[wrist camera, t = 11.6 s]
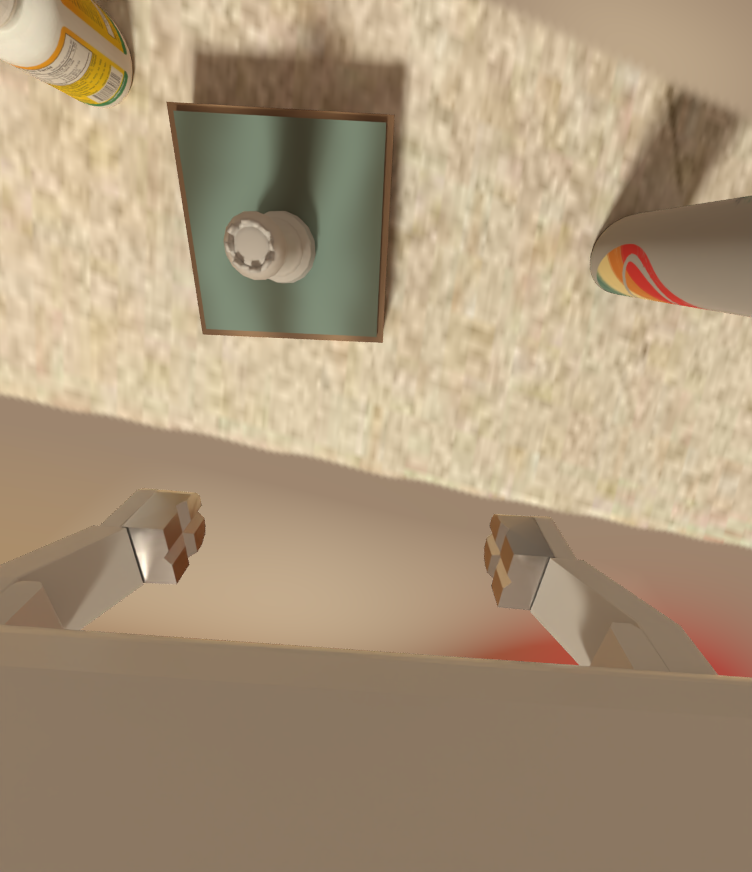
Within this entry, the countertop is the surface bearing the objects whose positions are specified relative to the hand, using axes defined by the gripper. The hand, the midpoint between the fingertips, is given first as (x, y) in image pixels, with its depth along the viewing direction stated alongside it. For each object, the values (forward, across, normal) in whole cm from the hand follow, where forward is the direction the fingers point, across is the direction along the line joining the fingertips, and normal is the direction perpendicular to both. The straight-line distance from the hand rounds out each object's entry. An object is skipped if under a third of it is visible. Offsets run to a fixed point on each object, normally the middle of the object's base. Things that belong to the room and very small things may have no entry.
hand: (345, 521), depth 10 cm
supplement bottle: (+25, +20, -17) cm, 36 cm away
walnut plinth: (+25, +7, -7) cm, 26 cm away
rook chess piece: (+21, +7, -6) cm, 23 cm away
